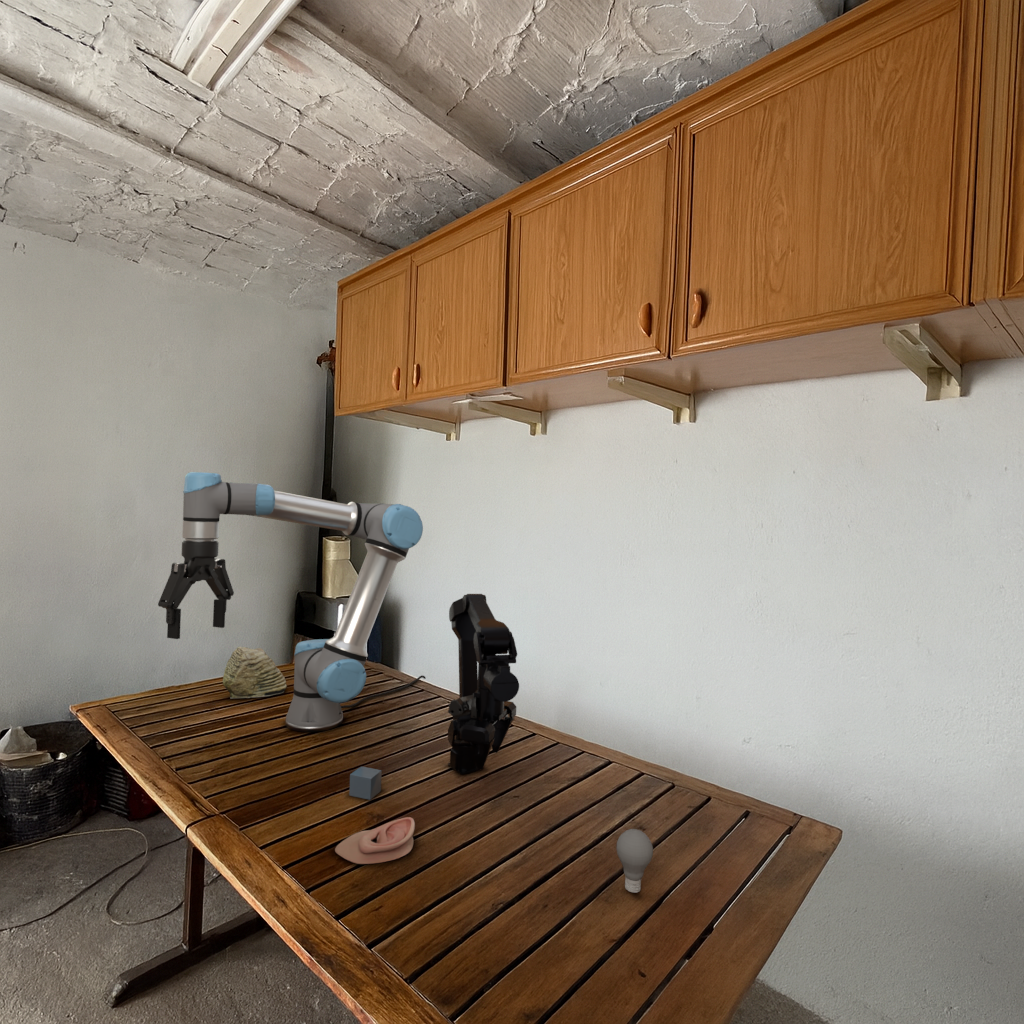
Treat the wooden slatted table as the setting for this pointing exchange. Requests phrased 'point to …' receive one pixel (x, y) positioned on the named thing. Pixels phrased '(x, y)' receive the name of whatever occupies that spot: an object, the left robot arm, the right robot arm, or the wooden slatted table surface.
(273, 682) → the fossil
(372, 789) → the block
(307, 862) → the wooden slatted table surface
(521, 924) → the wooden slatted table surface
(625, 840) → the light bulb
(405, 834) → the anatomical model
